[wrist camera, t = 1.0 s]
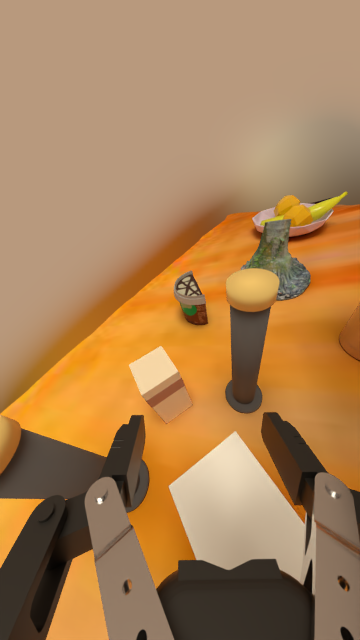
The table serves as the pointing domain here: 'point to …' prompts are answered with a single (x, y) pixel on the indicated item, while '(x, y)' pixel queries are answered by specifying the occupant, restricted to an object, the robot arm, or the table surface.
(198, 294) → the food container
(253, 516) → the mat
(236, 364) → the gate
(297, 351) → the table surface
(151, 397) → the carton
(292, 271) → the tree stump
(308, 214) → the fruit bowl
